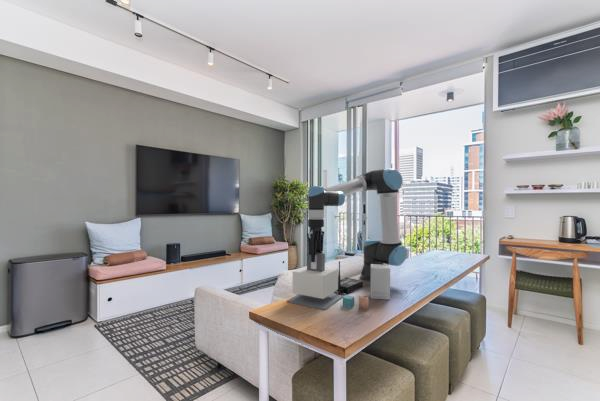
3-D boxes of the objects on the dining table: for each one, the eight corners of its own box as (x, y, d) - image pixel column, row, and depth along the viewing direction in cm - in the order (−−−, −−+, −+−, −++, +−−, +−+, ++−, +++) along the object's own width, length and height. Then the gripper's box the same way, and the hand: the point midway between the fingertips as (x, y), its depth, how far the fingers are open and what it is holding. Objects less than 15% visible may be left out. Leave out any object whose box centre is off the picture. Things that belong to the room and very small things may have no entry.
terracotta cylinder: (360, 306, 130) (360, 295, 130) (369, 308, 128) (369, 297, 128) (357, 309, 127) (357, 298, 127) (366, 311, 125) (366, 299, 125)
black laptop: (343, 283, 167) (344, 253, 167) (366, 288, 158) (366, 256, 158) (322, 291, 152) (323, 258, 152) (345, 298, 143) (346, 262, 143)
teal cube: (346, 303, 134) (346, 295, 134) (354, 305, 132) (354, 296, 132) (342, 306, 130) (342, 297, 130) (351, 308, 128) (351, 299, 128)
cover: (309, 284, 150) (309, 249, 150) (337, 289, 142) (338, 252, 142) (292, 292, 137) (292, 254, 137) (323, 298, 128) (323, 257, 128)
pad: (307, 290, 153) (307, 289, 153) (343, 296, 143) (343, 295, 143) (286, 301, 136) (286, 300, 136) (325, 310, 126) (325, 308, 126)
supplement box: (390, 300, 138) (390, 268, 138) (370, 298, 140) (371, 267, 140) (388, 294, 147) (388, 264, 147) (370, 293, 149) (370, 263, 149)
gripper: (316, 217, 148) (316, 263, 148) (300, 219, 134) (300, 270, 134) (330, 218, 144) (330, 265, 144) (314, 219, 130) (314, 272, 130)
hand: (315, 267), depth 139 cm, fingers closed on cover, 3 cm apart
